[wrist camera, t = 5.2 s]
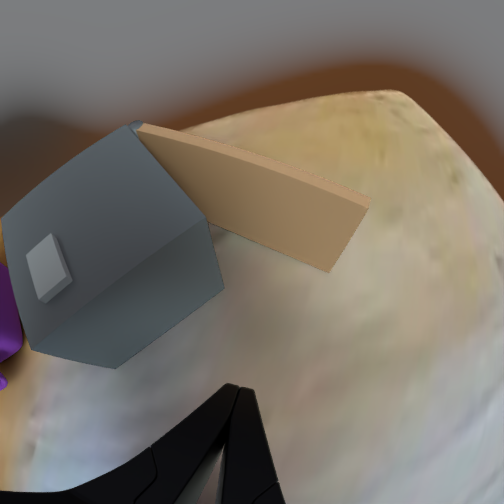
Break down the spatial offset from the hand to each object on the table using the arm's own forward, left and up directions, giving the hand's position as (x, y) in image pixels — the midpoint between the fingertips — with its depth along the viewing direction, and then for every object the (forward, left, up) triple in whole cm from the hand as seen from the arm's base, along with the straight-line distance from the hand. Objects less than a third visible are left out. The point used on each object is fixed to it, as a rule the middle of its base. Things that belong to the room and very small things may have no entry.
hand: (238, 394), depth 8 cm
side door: (+10, -8, -12) cm, 17 cm away
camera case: (+12, +2, -12) cm, 17 cm away
